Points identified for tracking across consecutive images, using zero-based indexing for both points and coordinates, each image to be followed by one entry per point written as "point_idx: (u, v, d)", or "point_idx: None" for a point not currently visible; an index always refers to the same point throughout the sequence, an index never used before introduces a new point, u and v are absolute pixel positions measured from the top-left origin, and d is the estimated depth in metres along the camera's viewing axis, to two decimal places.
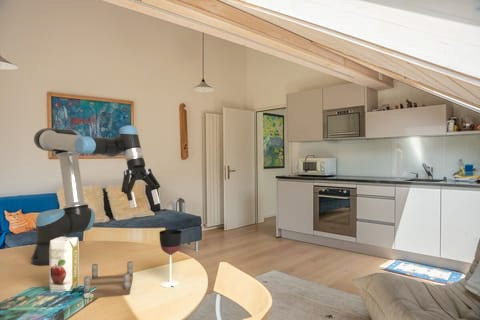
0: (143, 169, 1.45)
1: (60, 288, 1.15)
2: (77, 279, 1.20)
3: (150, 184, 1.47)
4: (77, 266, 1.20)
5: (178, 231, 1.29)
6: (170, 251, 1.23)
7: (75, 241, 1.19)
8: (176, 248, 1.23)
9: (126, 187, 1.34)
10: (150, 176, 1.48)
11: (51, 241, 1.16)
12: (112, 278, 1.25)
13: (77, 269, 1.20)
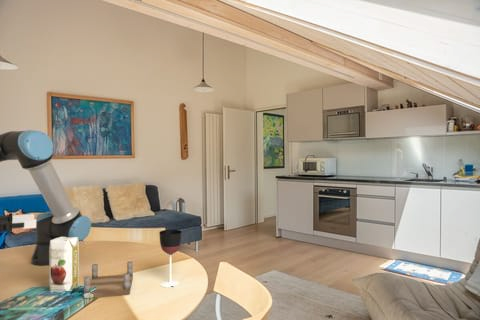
0: None
1: (60, 288, 1.15)
2: (77, 279, 1.20)
3: None
4: (77, 266, 1.20)
5: (178, 231, 1.29)
6: (170, 251, 1.23)
7: (75, 241, 1.19)
8: (176, 248, 1.23)
9: None
10: None
11: (51, 241, 1.16)
12: (112, 278, 1.25)
13: (77, 269, 1.20)
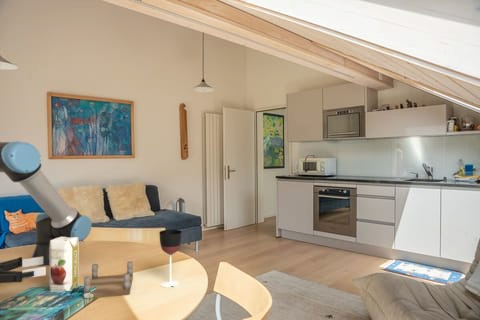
0: None
1: (60, 288, 1.15)
2: (77, 279, 1.20)
3: None
4: (77, 266, 1.20)
5: (178, 231, 1.29)
6: (170, 251, 1.23)
7: (75, 241, 1.19)
8: (176, 248, 1.23)
9: None
10: None
11: (51, 241, 1.16)
12: (112, 278, 1.25)
13: (77, 269, 1.20)
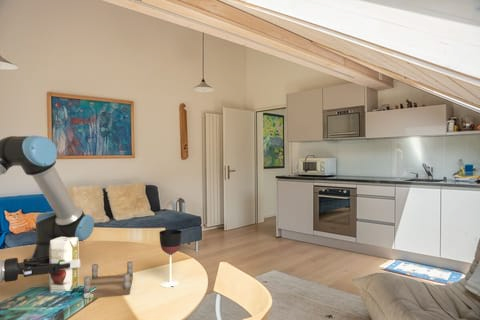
0: None
1: (60, 288, 1.15)
2: (77, 279, 1.20)
3: None
4: None
5: (178, 231, 1.29)
6: (170, 251, 1.23)
7: (75, 241, 1.19)
8: (176, 248, 1.23)
9: None
10: None
11: (51, 241, 1.16)
12: (112, 278, 1.25)
13: (77, 269, 1.20)
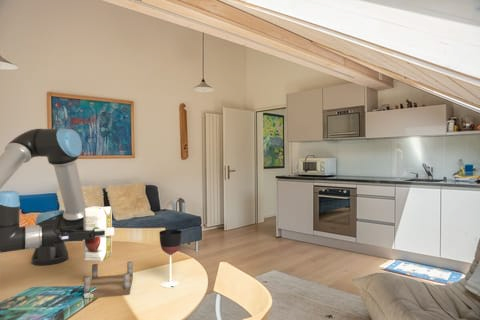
0: None
1: (95, 255, 1.16)
2: (110, 248, 1.20)
3: None
4: (110, 235, 1.20)
5: (178, 231, 1.29)
6: (170, 251, 1.23)
7: (108, 210, 1.20)
8: (176, 248, 1.23)
9: None
10: None
11: (85, 209, 1.17)
12: (112, 278, 1.25)
13: (110, 238, 1.20)
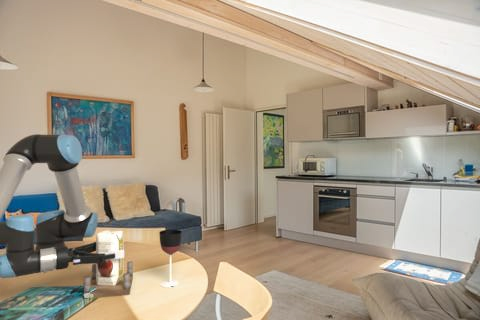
0: None
1: (108, 280, 1.17)
2: (122, 272, 1.22)
3: None
4: (122, 259, 1.22)
5: (178, 231, 1.29)
6: (170, 251, 1.23)
7: (120, 234, 1.21)
8: (176, 248, 1.23)
9: None
10: None
11: (98, 234, 1.18)
12: None
13: (122, 262, 1.22)
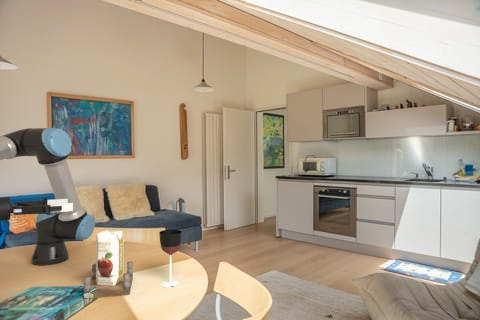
0: None
1: (108, 280, 1.17)
2: (122, 272, 1.22)
3: None
4: (122, 259, 1.22)
5: (178, 231, 1.29)
6: (170, 251, 1.23)
7: (120, 234, 1.21)
8: (176, 248, 1.23)
9: None
10: None
11: (98, 234, 1.18)
12: None
13: (122, 262, 1.22)
